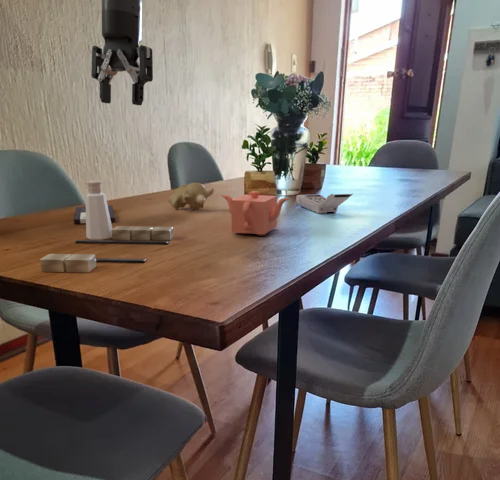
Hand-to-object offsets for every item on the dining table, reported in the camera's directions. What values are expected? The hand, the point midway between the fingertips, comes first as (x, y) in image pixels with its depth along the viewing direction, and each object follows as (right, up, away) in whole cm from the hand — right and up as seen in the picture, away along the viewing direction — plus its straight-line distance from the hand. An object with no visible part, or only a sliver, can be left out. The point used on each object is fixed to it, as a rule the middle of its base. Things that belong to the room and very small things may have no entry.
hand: (121, 103), depth 104 cm
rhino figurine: (+11, -15, +29) cm, 35 cm away
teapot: (+27, -26, +3) cm, 38 cm away
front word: (+1, -36, -21) cm, 42 cm away
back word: (+2, -28, -3) cm, 29 cm away
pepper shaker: (-4, -28, -1) cm, 28 cm away
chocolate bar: (-12, -18, +20) cm, 30 cm away
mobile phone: (+45, -15, +28) cm, 55 cm away
